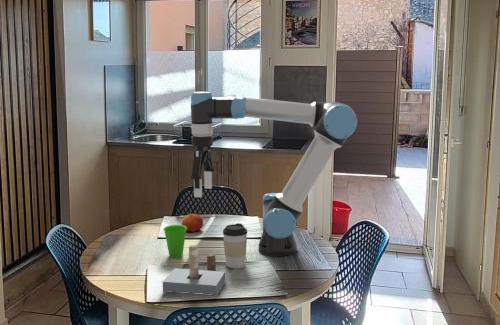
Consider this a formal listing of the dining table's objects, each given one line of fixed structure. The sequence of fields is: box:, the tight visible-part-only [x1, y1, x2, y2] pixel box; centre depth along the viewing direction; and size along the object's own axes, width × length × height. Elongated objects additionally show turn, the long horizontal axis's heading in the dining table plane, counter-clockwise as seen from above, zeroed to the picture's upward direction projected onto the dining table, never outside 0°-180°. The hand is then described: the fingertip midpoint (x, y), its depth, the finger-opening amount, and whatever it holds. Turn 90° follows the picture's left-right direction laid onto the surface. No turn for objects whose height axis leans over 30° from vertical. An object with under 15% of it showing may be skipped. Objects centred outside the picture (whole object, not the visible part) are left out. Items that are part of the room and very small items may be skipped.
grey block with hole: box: [162, 267, 226, 296], centre depth 181 cm, size 18×12×4 cm, turn 79°
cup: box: [163, 224, 187, 258], centre depth 211 cm, size 9×9×11 cm
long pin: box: [188, 244, 200, 280], centre depth 180 cm, size 3×3×14 cm
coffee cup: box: [222, 223, 248, 269], centre depth 200 cm, size 9×9×15 cm
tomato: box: [181, 213, 204, 233], centre depth 242 cm, size 9×9×8 cm
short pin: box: [206, 253, 217, 271], centre depth 194 cm, size 3×3×6 cm
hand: (203, 192), depth 200 cm, fingers open, 13 cm apart
